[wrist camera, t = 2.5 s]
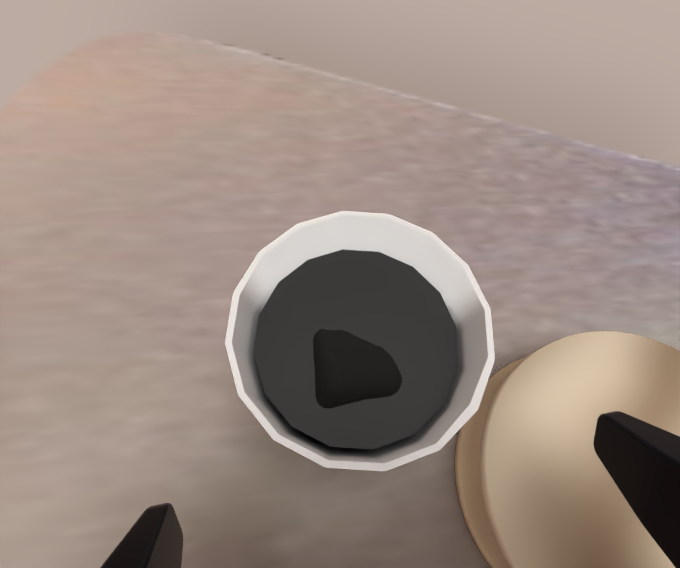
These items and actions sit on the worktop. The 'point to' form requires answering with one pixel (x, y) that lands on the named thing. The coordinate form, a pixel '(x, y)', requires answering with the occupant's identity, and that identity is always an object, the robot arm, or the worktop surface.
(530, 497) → the birch stand
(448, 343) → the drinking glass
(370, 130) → the worktop surface
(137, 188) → the worktop surface
